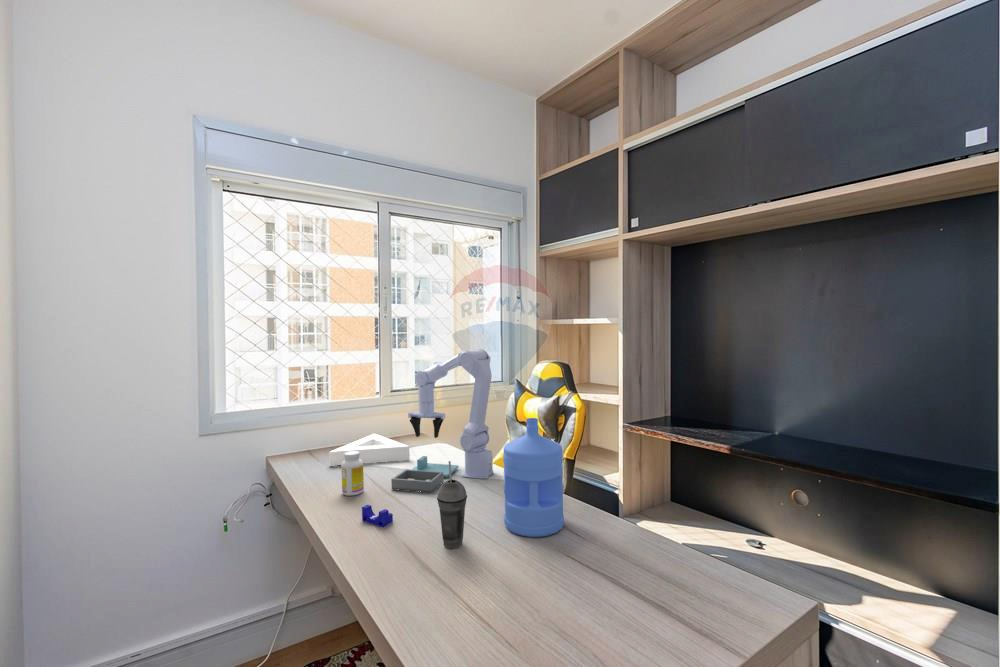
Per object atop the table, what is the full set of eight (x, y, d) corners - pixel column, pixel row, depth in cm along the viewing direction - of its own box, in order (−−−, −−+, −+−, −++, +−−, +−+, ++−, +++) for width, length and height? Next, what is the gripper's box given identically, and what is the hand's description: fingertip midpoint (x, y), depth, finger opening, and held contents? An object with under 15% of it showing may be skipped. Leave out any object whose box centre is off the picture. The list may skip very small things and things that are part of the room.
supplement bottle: (367, 489, 149) (366, 450, 149) (358, 496, 143) (357, 455, 143) (347, 488, 150) (346, 449, 150) (338, 496, 143) (337, 455, 143)
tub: (443, 482, 154) (443, 472, 154) (431, 493, 145) (431, 482, 145) (405, 479, 158) (405, 469, 158) (391, 489, 148) (391, 479, 148)
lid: (458, 470, 168) (458, 455, 168) (447, 479, 158) (447, 464, 158) (421, 467, 172) (421, 453, 172) (408, 476, 162) (408, 461, 162)
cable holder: (392, 522, 124) (392, 508, 124) (383, 527, 121) (382, 512, 121) (372, 516, 128) (371, 502, 128) (362, 521, 125) (361, 507, 125)
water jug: (505, 512, 129) (503, 413, 128) (561, 512, 128) (560, 413, 127) (502, 538, 113) (500, 426, 113) (566, 538, 112) (564, 425, 112)
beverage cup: (444, 554, 106) (442, 469, 105) (433, 541, 112) (431, 460, 112) (473, 547, 109) (471, 464, 109) (461, 534, 116) (459, 456, 115)
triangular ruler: (329, 468, 174) (329, 451, 174) (339, 450, 199) (338, 435, 199) (409, 462, 180) (409, 446, 180) (409, 445, 205) (408, 431, 205)
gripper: (404, 402, 173) (405, 438, 173) (439, 403, 169) (440, 440, 169) (412, 399, 180) (413, 434, 180) (447, 400, 176) (447, 435, 176)
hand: (427, 436), depth 175 cm, fingers open, 7 cm apart
